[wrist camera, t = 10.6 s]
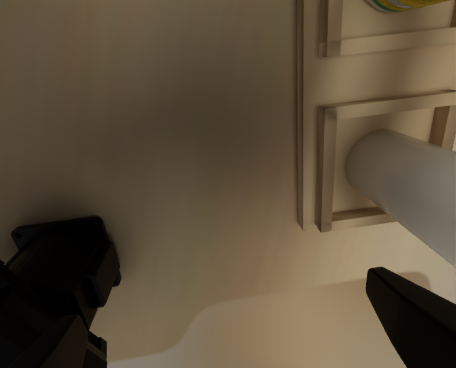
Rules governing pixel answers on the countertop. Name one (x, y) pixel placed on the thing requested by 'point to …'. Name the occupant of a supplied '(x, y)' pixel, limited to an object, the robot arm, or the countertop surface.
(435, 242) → the white rounded rod
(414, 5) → the supplement bottle
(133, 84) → the countertop surface
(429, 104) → the caddy
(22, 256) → the robot arm
